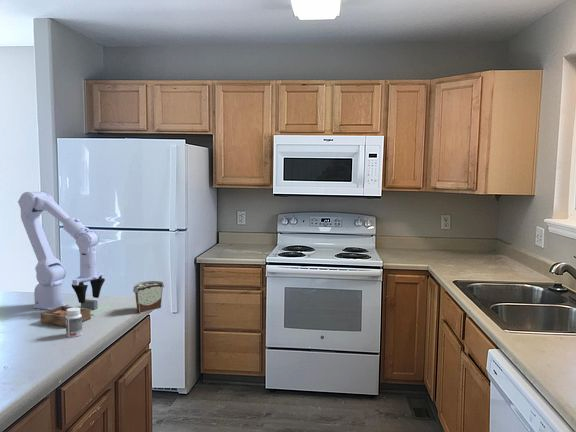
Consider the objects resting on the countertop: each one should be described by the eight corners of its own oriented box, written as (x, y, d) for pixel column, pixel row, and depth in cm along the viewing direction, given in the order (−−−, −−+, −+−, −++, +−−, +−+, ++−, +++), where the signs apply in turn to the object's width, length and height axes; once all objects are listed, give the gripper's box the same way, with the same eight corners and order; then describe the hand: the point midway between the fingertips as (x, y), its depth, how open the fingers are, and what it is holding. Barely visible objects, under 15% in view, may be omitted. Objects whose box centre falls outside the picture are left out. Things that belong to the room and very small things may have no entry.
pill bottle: (85, 333, 154) (85, 307, 153) (75, 338, 150) (74, 311, 149) (73, 331, 155) (72, 306, 155) (62, 336, 151) (62, 310, 150)
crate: (40, 323, 163) (40, 313, 162) (62, 315, 172) (62, 305, 172) (70, 327, 159) (69, 317, 159) (90, 318, 169) (90, 309, 168)
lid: (64, 313, 176) (64, 302, 176) (85, 305, 186) (84, 295, 186) (93, 317, 173) (93, 305, 172) (112, 309, 183) (112, 298, 182)
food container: (154, 304, 188) (154, 279, 187) (164, 307, 184) (164, 281, 183) (126, 310, 179) (126, 284, 178) (136, 314, 175) (135, 287, 174)
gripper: (83, 268, 170) (84, 306, 171) (110, 261, 184) (110, 296, 185) (67, 267, 172) (68, 304, 173) (94, 260, 186) (95, 294, 187)
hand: (89, 300), depth 179 cm, fingers open, 7 cm apart
